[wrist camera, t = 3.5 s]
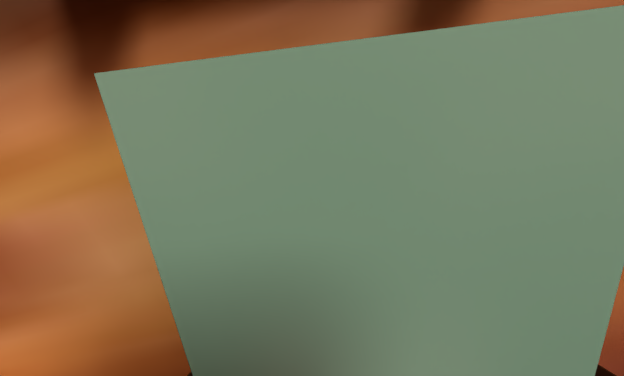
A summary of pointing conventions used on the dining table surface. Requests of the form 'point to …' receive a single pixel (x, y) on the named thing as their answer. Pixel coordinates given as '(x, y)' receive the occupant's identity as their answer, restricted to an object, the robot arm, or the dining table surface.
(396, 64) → the green board
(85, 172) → the dining table surface
